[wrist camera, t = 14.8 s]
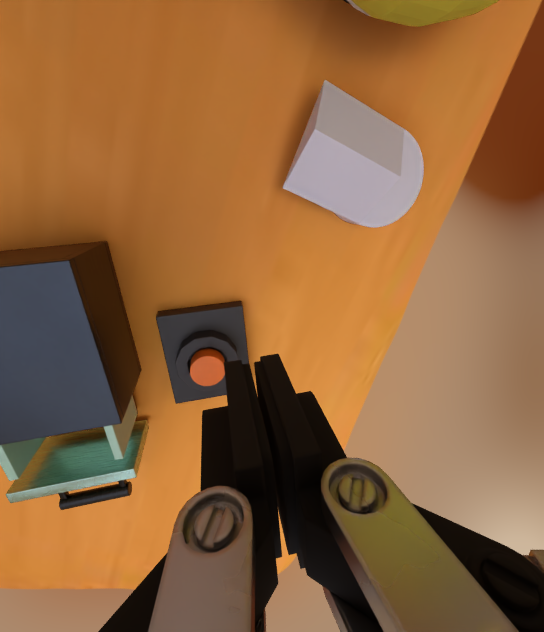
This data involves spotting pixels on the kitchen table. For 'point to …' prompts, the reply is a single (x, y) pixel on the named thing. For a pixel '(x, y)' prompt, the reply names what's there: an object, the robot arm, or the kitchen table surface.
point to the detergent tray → (77, 463)
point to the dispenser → (62, 342)
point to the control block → (201, 344)
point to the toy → (419, 10)
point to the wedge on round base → (356, 162)
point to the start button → (207, 367)
